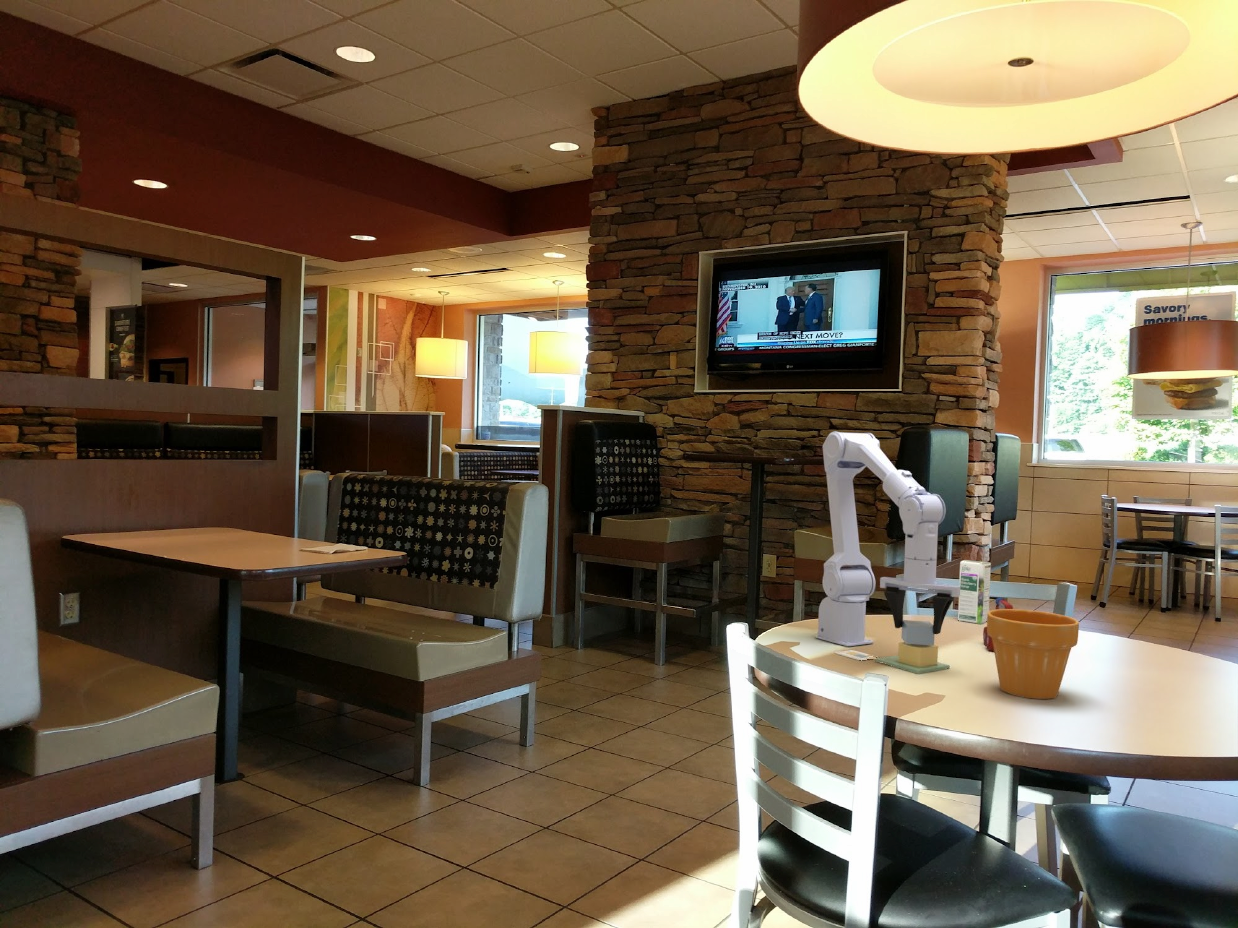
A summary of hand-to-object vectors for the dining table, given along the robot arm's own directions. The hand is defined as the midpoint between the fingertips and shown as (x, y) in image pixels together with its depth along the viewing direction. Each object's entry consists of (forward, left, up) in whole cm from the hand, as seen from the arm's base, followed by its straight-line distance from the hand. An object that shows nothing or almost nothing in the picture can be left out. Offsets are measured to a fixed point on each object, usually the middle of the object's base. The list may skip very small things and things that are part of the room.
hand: (917, 630), depth 168 cm
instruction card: (-11, -4, -7) cm, 14 cm away
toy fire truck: (-2, +30, -7) cm, 31 cm away
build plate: (-1, 0, -7) cm, 7 cm away
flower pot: (+21, +3, -7) cm, 22 cm away
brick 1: (0, 0, -2) cm, 2 cm away
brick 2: (0, 0, -6) cm, 6 cm away
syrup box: (-24, +51, -7) cm, 57 cm away
